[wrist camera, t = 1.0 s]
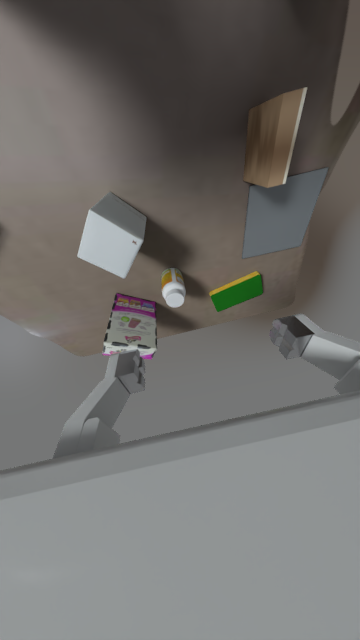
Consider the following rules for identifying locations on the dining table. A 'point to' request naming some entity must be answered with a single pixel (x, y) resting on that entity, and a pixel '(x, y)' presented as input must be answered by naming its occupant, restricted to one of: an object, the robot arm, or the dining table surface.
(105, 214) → the supplement box
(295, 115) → the slab
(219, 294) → the dish sponge
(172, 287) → the supplement bottle
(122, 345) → the candy bar box
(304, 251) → the dining table surface
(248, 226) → the mat
